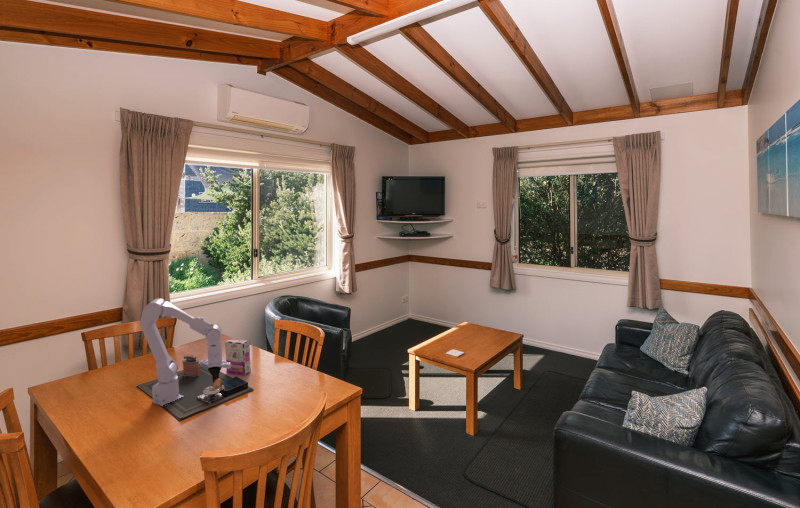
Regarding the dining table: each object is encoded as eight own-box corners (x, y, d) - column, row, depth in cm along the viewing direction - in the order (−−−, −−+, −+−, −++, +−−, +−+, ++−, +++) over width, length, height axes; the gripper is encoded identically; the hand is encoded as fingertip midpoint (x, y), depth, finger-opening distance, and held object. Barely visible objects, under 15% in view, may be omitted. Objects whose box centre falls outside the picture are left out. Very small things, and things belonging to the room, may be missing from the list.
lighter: (201, 374, 199) (200, 355, 198) (197, 377, 196) (196, 357, 195) (185, 373, 200) (184, 354, 199) (181, 376, 197) (180, 356, 196)
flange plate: (213, 396, 172) (213, 387, 171) (199, 394, 173) (198, 385, 173) (226, 387, 180) (225, 379, 179) (212, 385, 181) (212, 377, 181)
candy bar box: (251, 371, 203) (250, 340, 201) (244, 375, 199) (243, 343, 197) (232, 368, 207) (231, 337, 205) (226, 372, 202) (224, 341, 200)
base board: (210, 403, 170) (209, 393, 170) (197, 399, 174) (196, 389, 174) (227, 395, 178) (226, 385, 178) (214, 391, 182) (213, 381, 181)
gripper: (194, 354, 175) (195, 383, 177) (223, 357, 172) (224, 387, 174) (205, 348, 182) (206, 376, 184) (233, 351, 179) (234, 380, 181)
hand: (216, 381), depth 180 cm, fingers closed, pressing on flange plate
